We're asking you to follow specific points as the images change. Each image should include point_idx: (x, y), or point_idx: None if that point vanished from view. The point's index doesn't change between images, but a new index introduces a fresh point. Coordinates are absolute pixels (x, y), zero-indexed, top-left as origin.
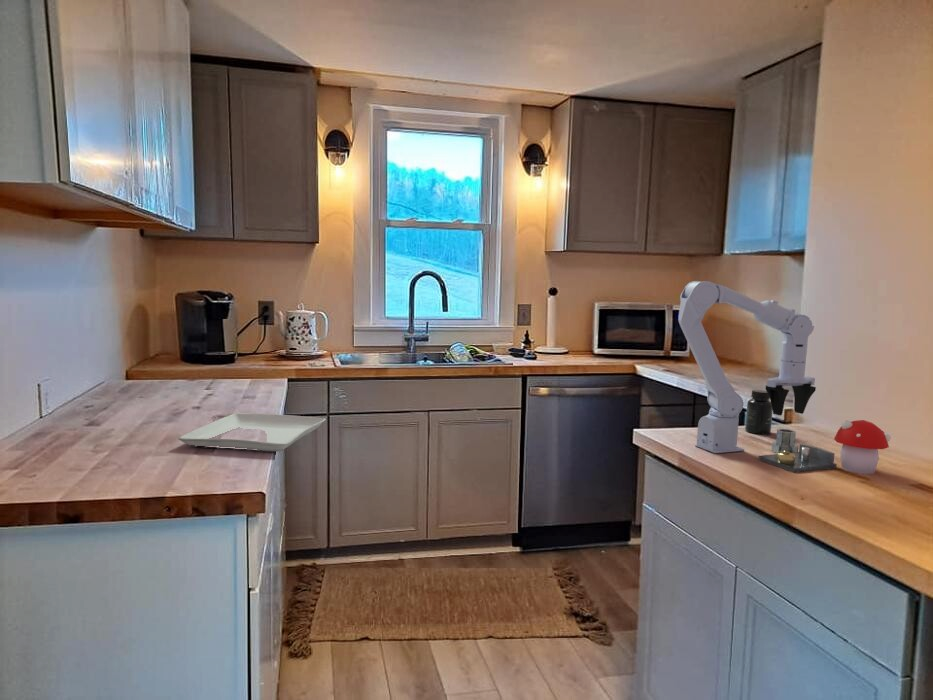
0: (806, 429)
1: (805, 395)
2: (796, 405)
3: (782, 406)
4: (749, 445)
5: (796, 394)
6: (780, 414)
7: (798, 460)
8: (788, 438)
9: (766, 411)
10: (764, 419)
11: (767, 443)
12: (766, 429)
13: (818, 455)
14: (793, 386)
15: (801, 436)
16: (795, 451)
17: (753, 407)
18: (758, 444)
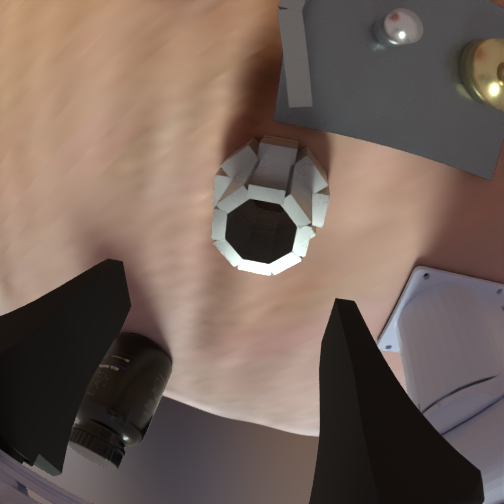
0: (15, 300)
1: (28, 353)
2: (106, 333)
3: (362, 348)
4: (315, 299)
5: (67, 403)
6: (352, 303)
7: (420, 46)
8: (294, 186)
9: (114, 393)
10: (129, 374)
11: (223, 285)
12: (133, 345)
13: (305, 7)
14: (56, 466)
15: (55, 276)
16: (273, 140)
17: (142, 424)
18: (269, 292)
